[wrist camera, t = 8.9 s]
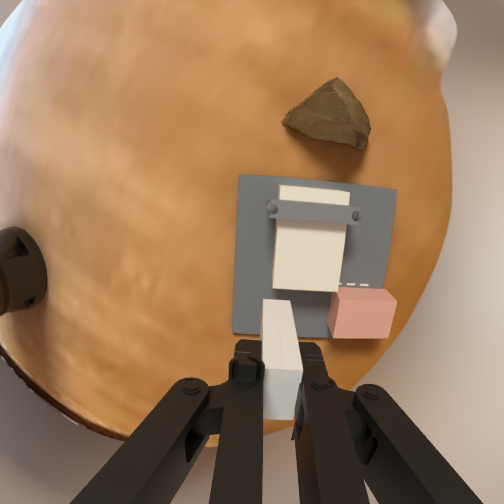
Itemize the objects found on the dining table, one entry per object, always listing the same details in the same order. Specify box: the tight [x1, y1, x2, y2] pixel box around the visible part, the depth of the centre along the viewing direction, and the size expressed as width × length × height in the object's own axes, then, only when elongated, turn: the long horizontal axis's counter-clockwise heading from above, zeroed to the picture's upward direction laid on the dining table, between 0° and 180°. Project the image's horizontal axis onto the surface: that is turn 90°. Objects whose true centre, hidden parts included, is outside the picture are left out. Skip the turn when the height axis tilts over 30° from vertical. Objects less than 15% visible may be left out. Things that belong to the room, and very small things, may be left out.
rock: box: [282, 77, 371, 150], centre depth 34 cm, size 11×9×10 cm
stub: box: [327, 287, 397, 338], centre depth 40 cm, size 8×6×4 cm
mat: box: [232, 174, 397, 338], centre depth 41 cm, size 21×22×1 cm
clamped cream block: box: [267, 185, 361, 292], centre depth 37 cm, size 11×12×6 cm
